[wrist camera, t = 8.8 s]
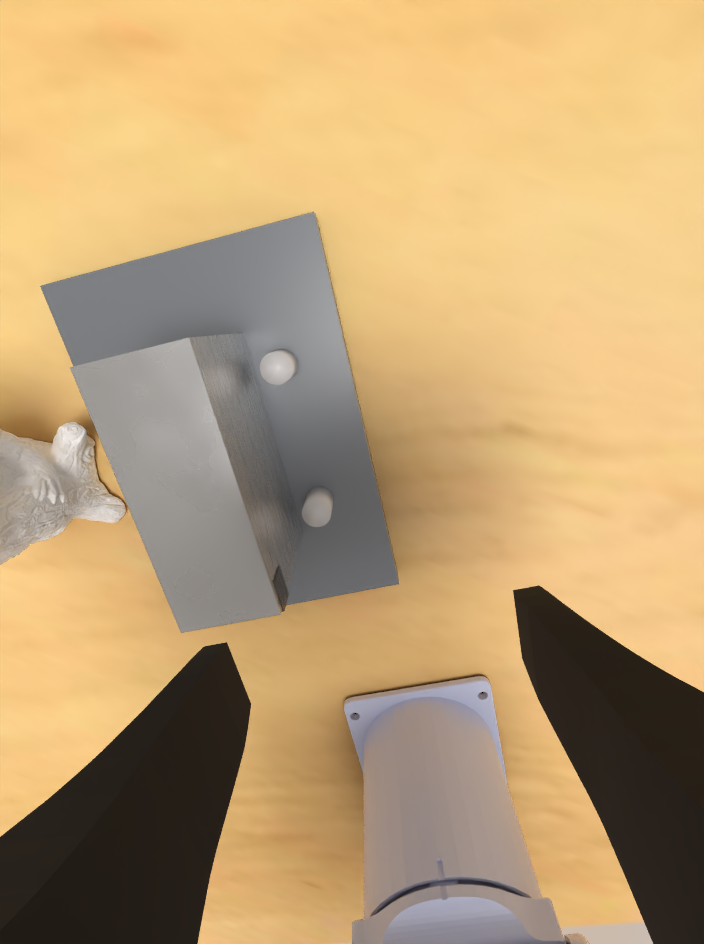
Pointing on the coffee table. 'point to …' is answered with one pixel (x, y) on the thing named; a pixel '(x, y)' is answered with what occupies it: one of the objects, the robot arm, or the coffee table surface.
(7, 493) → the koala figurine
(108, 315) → the pin tray
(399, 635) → the coffee table surface
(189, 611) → the block
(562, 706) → the robot arm
